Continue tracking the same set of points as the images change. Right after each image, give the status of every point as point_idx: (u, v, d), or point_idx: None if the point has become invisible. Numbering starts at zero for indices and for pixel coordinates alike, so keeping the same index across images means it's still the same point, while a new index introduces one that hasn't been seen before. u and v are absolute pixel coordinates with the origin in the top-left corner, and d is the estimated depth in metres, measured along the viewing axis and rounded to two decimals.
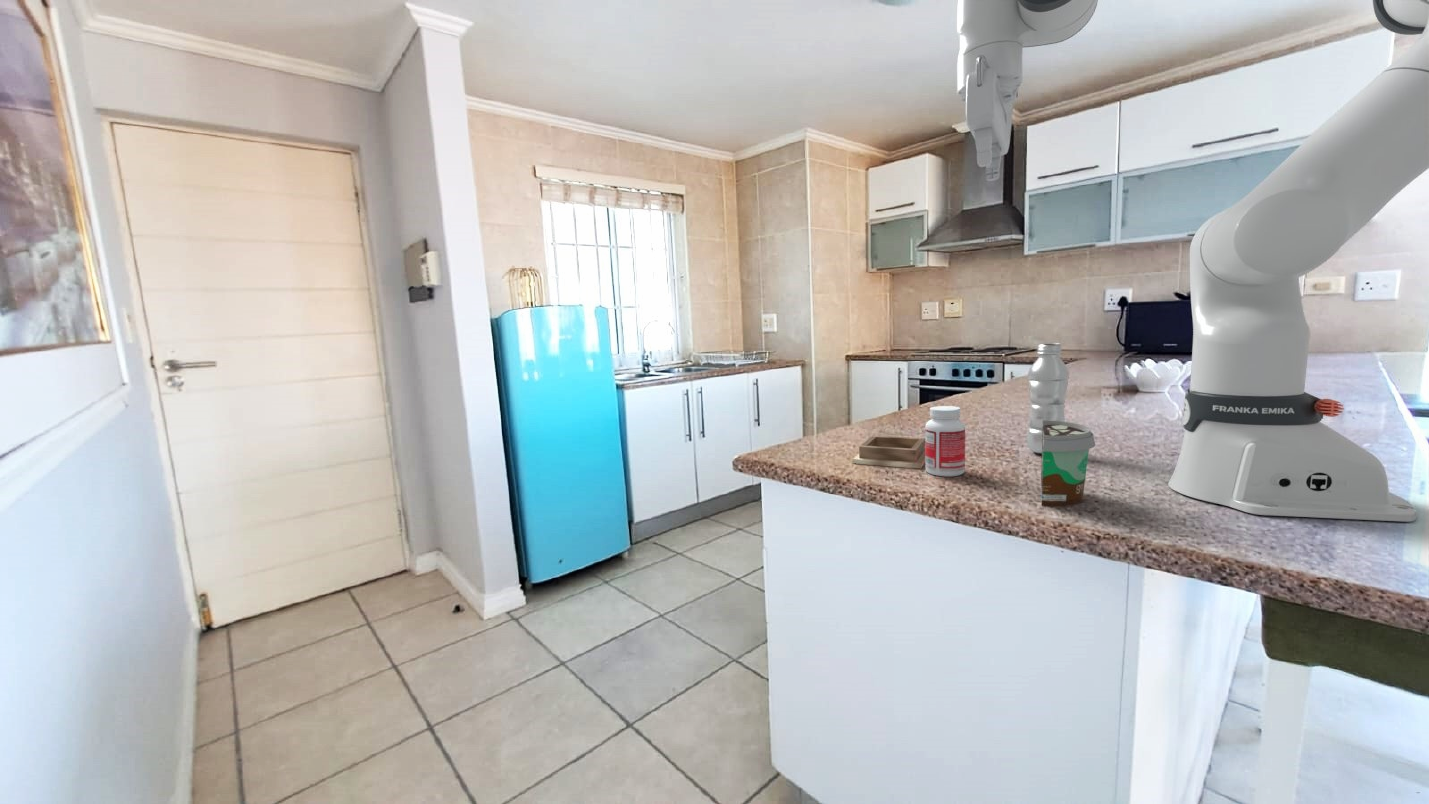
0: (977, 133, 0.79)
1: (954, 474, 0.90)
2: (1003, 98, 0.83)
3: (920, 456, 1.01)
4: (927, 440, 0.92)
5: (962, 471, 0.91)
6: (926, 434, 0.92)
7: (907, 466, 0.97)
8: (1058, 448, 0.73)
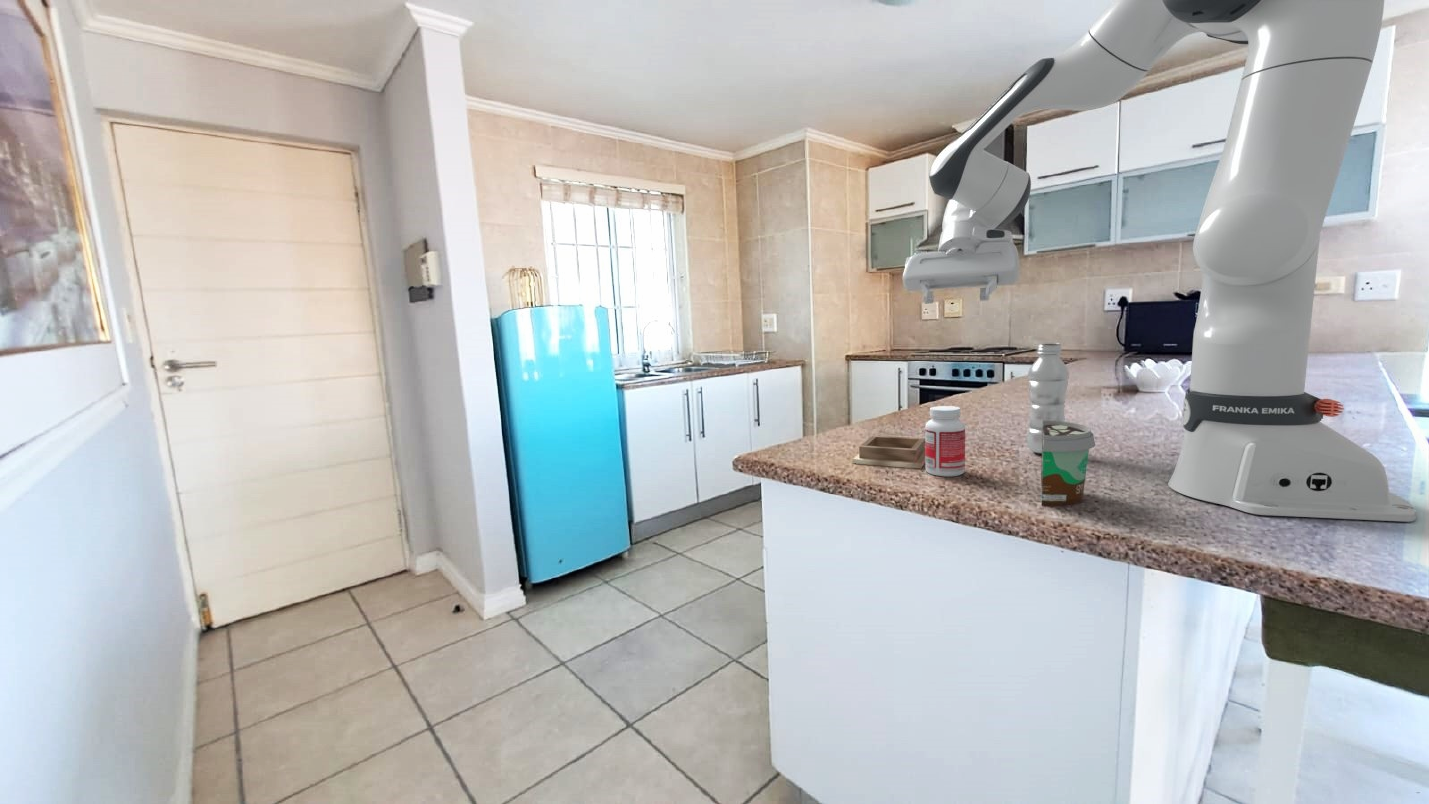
0: None
1: (954, 474, 0.90)
2: (962, 252, 1.05)
3: (920, 456, 1.01)
4: (927, 440, 0.92)
5: (962, 471, 0.91)
6: (926, 434, 0.92)
7: (907, 466, 0.97)
8: (1058, 448, 0.73)
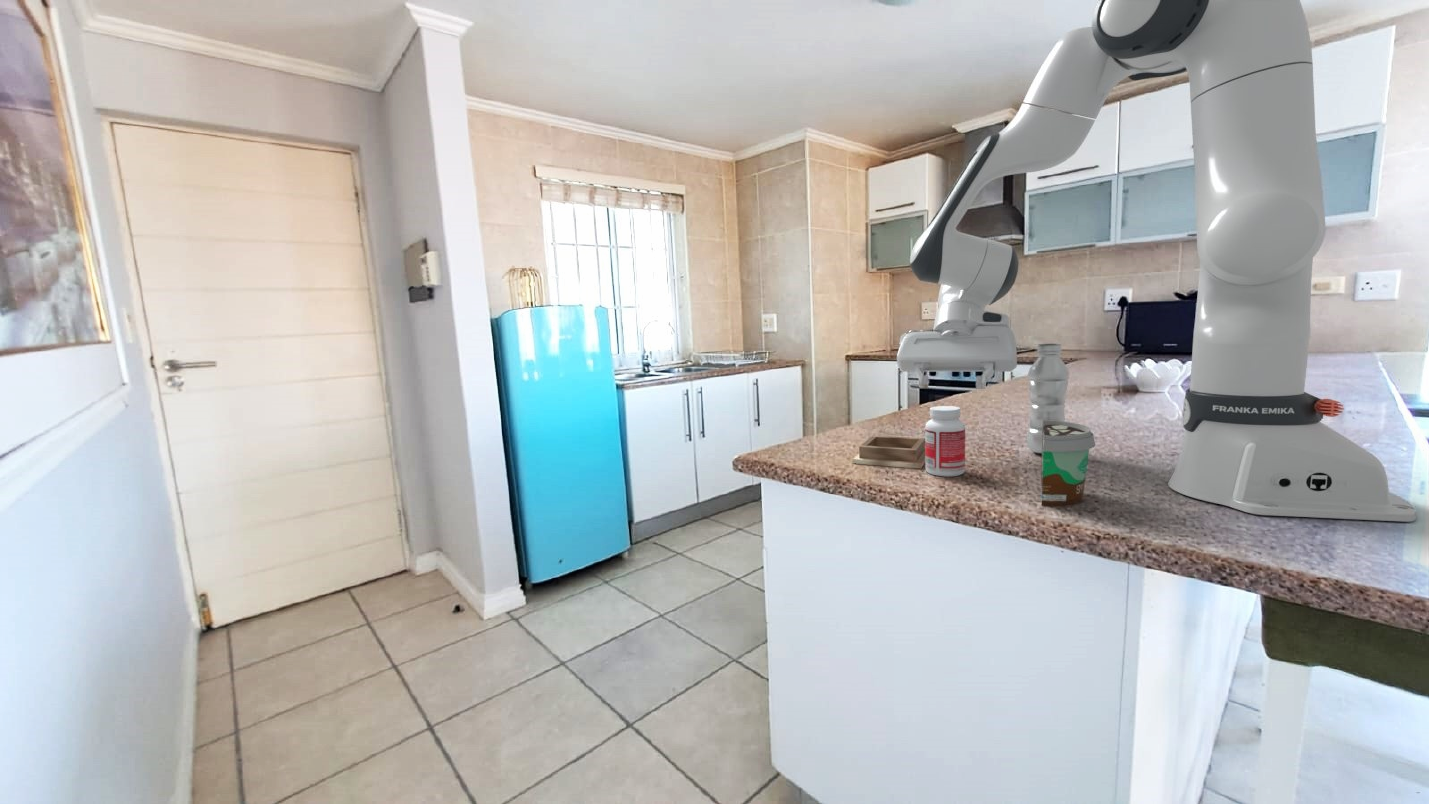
0: None
1: (954, 474, 0.90)
2: (958, 335, 1.02)
3: (920, 456, 1.01)
4: (927, 440, 0.92)
5: (962, 471, 0.91)
6: (926, 434, 0.92)
7: (907, 466, 0.97)
8: (1058, 448, 0.73)
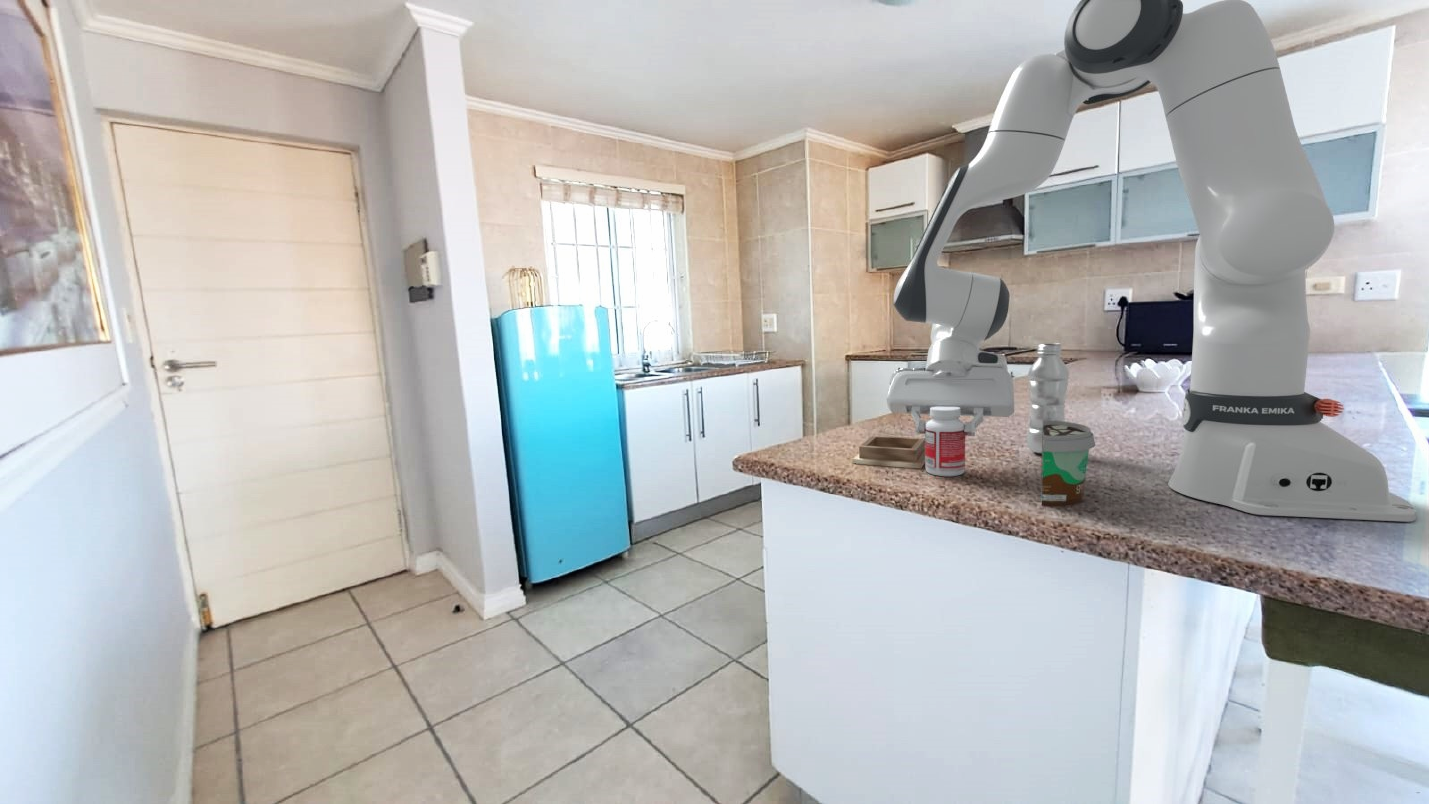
0: None
1: (954, 474, 0.90)
2: (952, 376, 0.95)
3: (920, 456, 1.01)
4: (927, 440, 0.92)
5: (962, 471, 0.91)
6: (926, 434, 0.92)
7: (907, 466, 0.97)
8: (1058, 448, 0.73)
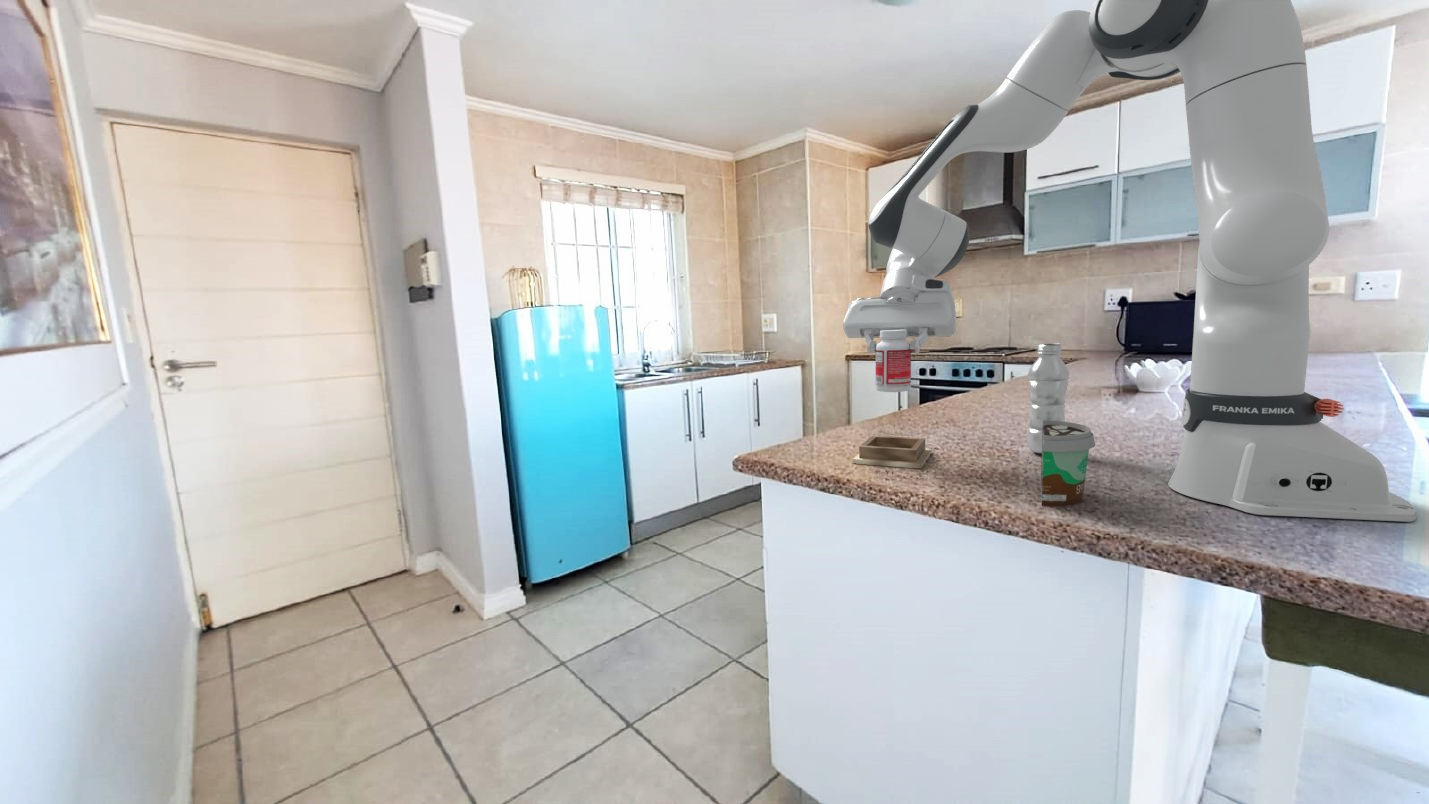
0: None
1: (900, 389, 0.99)
2: (902, 301, 1.04)
3: (920, 456, 1.01)
4: (877, 360, 1.01)
5: (907, 387, 0.99)
6: (876, 354, 1.01)
7: (907, 466, 0.97)
8: (1058, 448, 0.73)
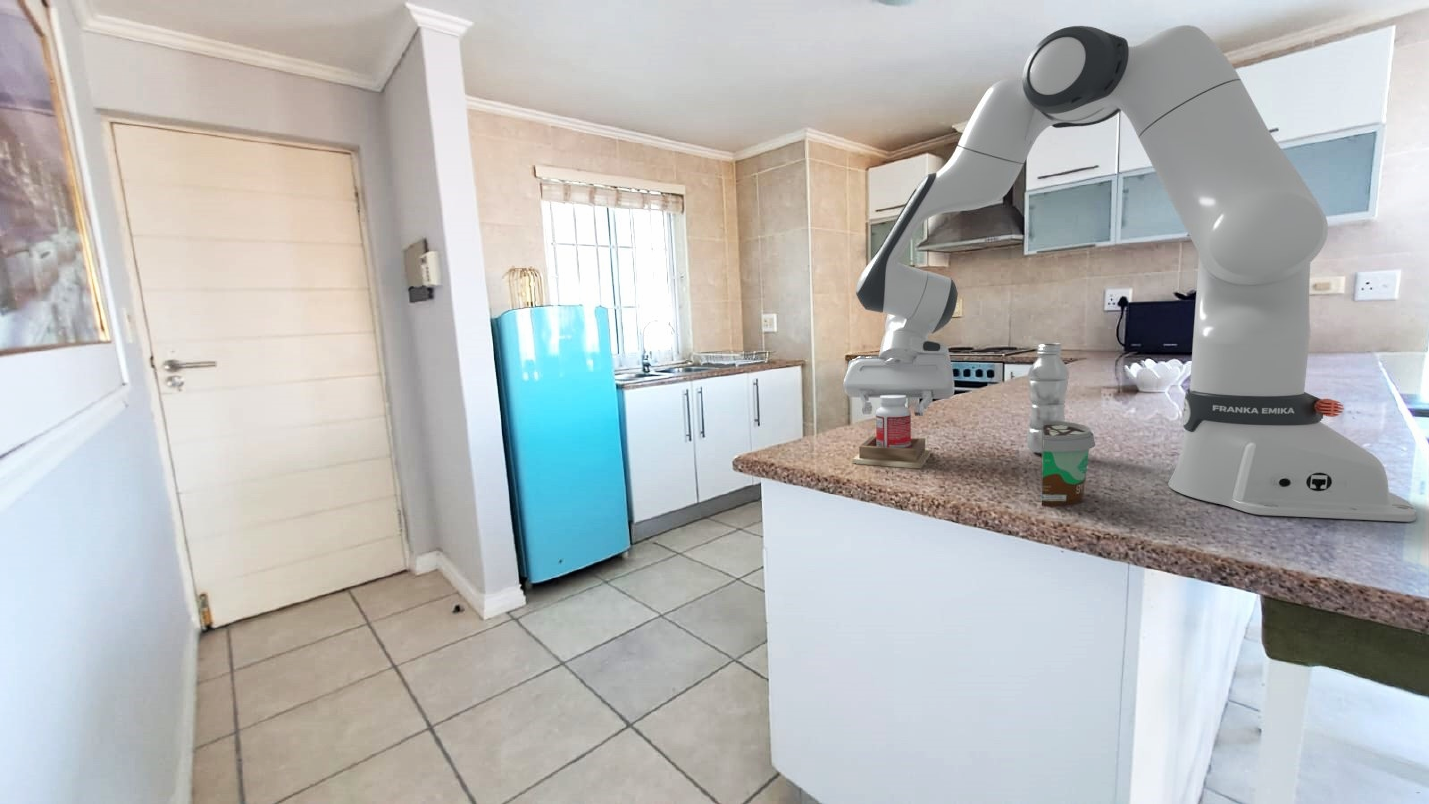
0: None
1: None
2: (900, 363, 1.06)
3: (920, 456, 1.01)
4: (877, 425, 1.03)
5: None
6: (876, 419, 1.03)
7: (907, 466, 0.97)
8: (1058, 448, 0.73)
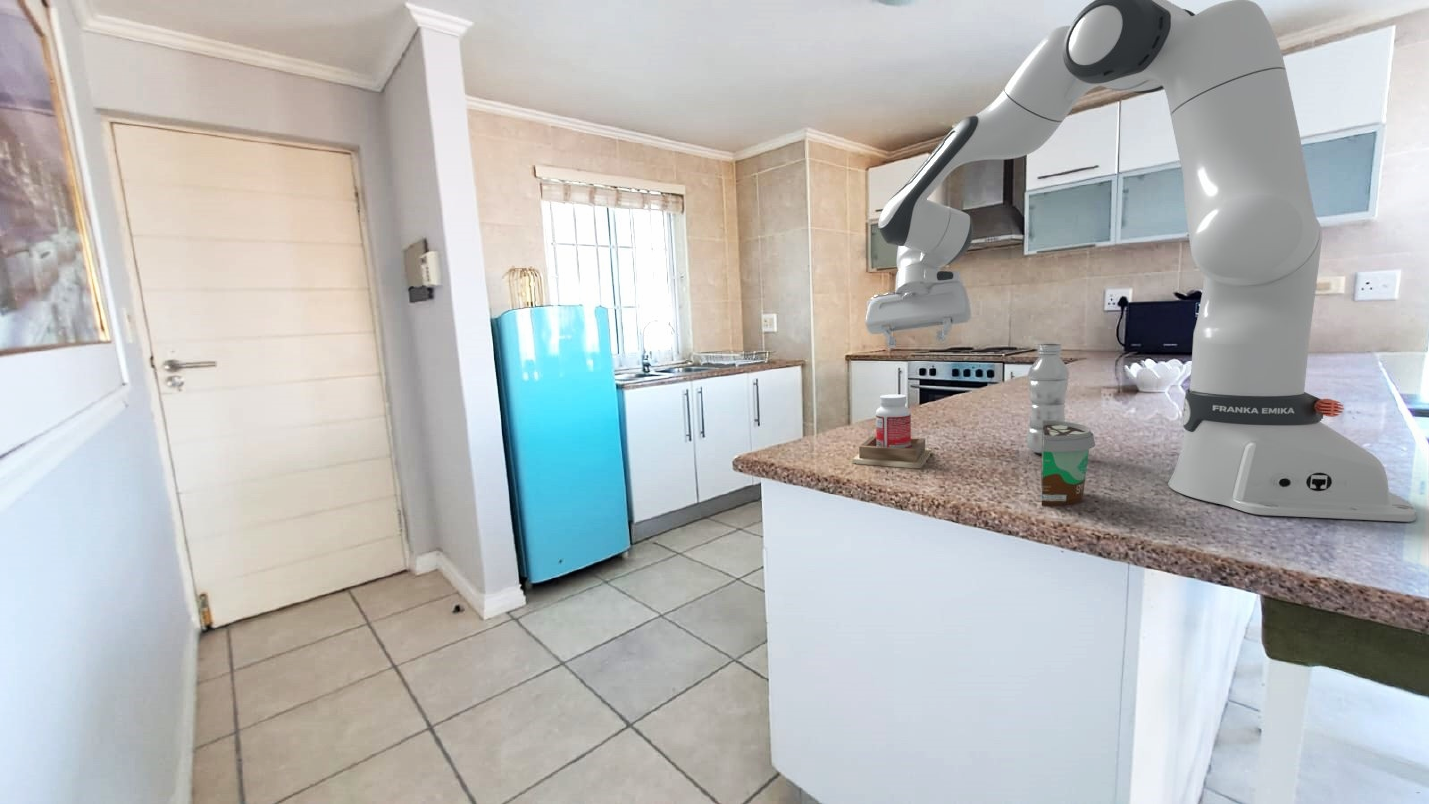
0: None
1: None
2: (917, 295, 1.13)
3: (920, 456, 1.01)
4: (877, 425, 1.03)
5: None
6: (876, 419, 1.03)
7: (907, 466, 0.97)
8: (1058, 448, 0.73)
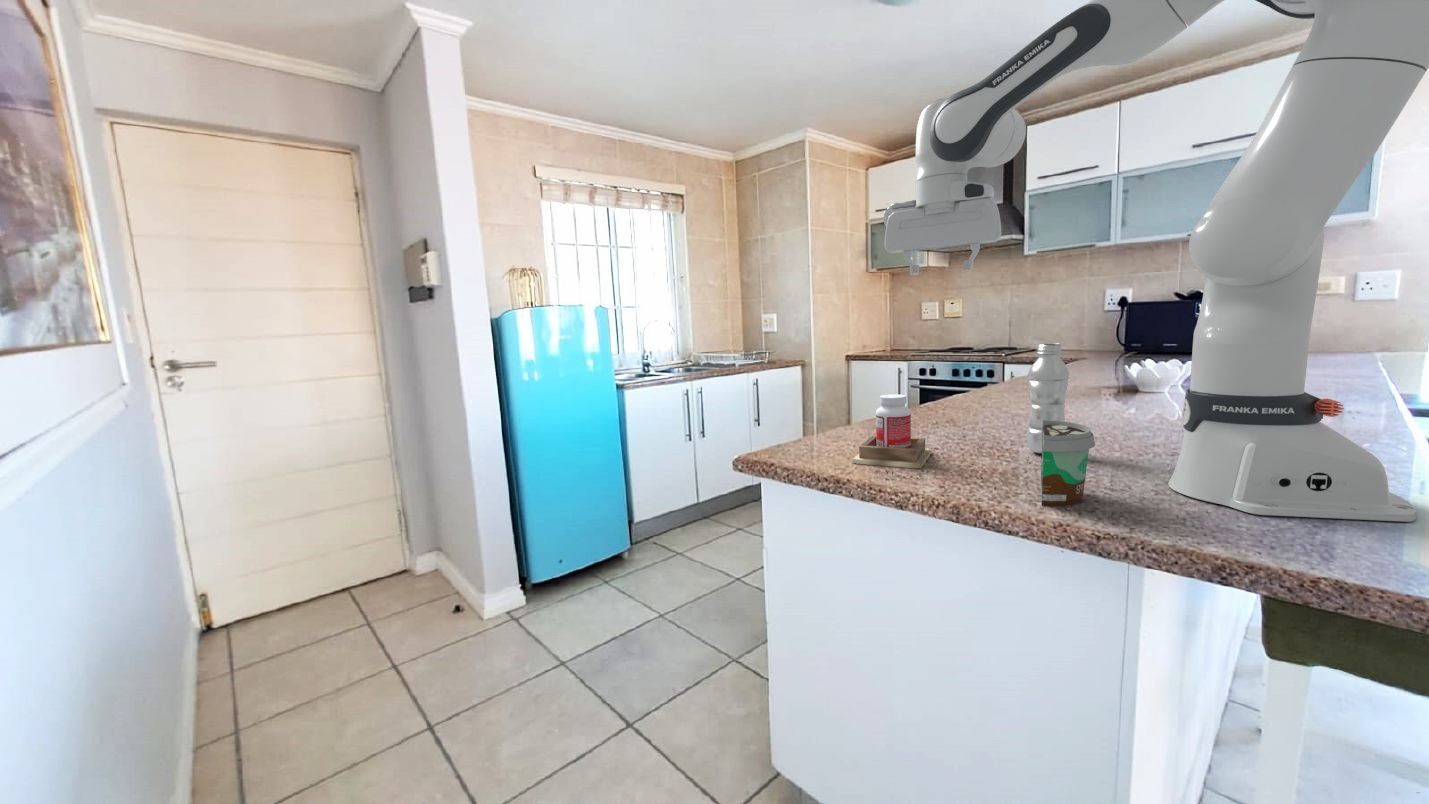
0: None
1: None
2: (942, 213, 1.01)
3: (920, 456, 1.01)
4: (877, 425, 1.03)
5: None
6: (876, 419, 1.03)
7: (907, 466, 0.97)
8: (1058, 448, 0.73)
